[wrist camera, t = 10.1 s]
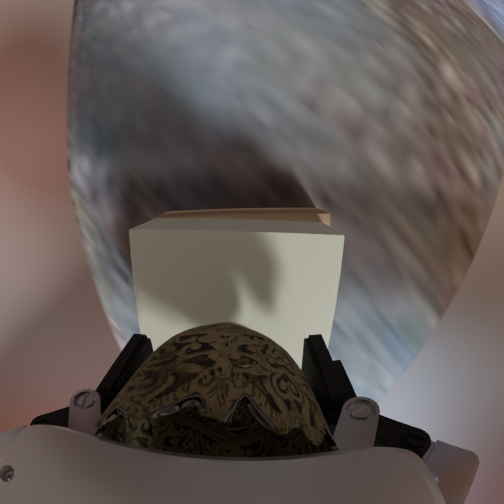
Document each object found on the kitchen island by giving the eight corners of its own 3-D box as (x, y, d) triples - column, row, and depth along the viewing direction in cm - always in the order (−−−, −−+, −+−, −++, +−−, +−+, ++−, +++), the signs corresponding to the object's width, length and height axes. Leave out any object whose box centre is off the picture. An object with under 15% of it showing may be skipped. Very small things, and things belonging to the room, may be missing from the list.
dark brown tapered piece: (251, 414, 14) (251, 532, 6) (138, 358, 13) (76, 471, 5) (334, 326, 13) (399, 459, 5) (200, 245, 12) (117, 359, 4)
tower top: (156, 217, 17) (129, 229, 13) (322, 222, 18) (344, 235, 13) (169, 355, 20) (153, 391, 16) (305, 360, 20) (316, 399, 16)
